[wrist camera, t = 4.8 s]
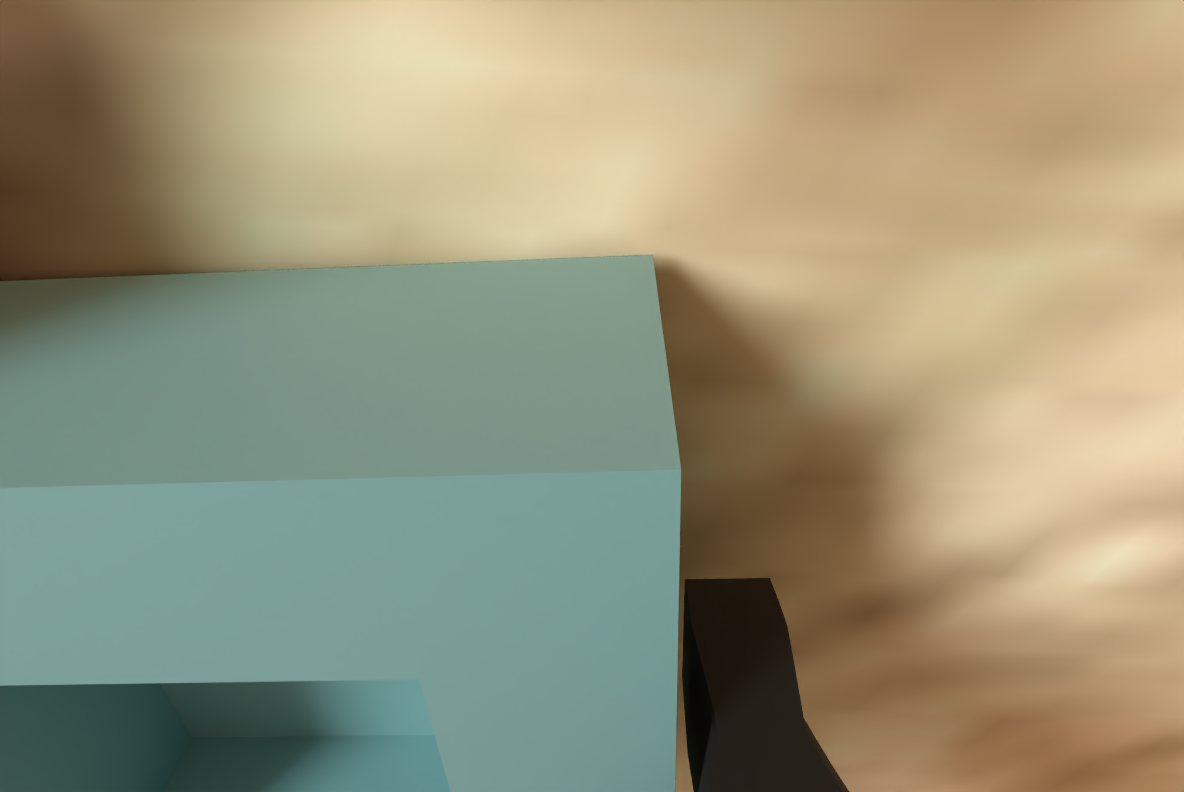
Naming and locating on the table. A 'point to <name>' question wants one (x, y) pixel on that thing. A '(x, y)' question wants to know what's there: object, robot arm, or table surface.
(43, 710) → the sliding block
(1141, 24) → the table surface
